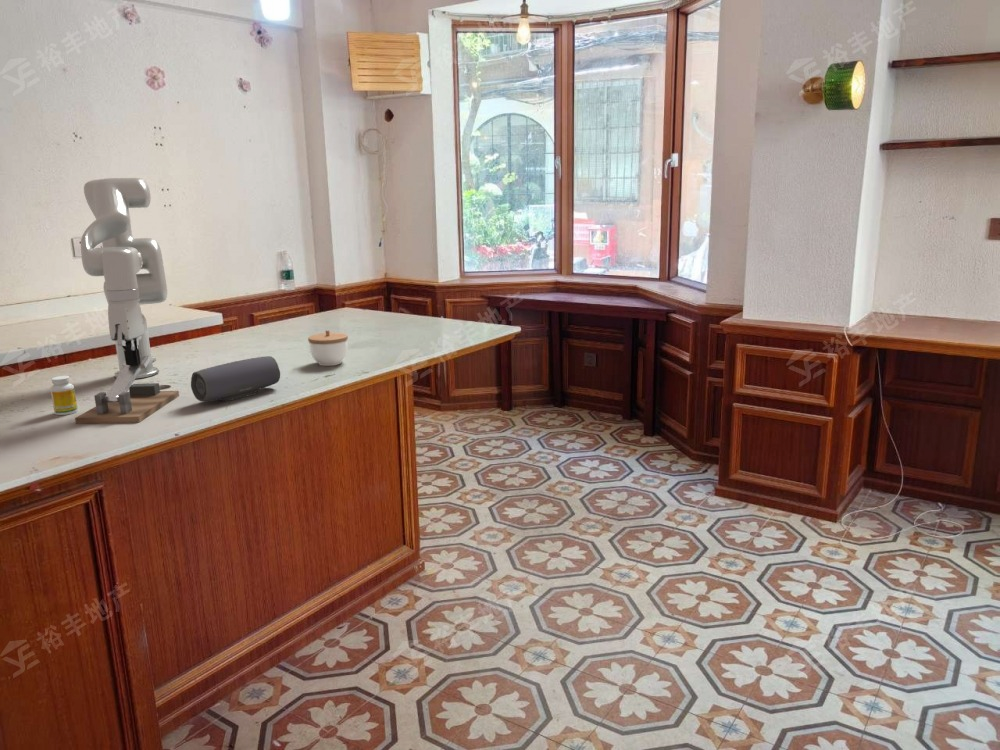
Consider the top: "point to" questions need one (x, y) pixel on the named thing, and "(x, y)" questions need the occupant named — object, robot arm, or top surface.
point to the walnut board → (125, 408)
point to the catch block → (144, 389)
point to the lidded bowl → (328, 348)
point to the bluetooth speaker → (235, 379)
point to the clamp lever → (125, 379)
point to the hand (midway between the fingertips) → (133, 364)
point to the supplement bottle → (63, 396)
